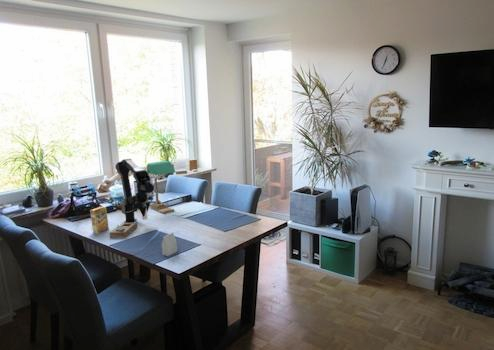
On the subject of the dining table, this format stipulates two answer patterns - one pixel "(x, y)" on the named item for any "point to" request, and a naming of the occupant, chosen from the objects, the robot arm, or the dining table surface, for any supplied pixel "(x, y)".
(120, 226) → the grey metal stub
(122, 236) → the walnut socket block
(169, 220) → the dining table surface
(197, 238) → the dining table surface
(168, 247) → the tea bag
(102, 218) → the candy box
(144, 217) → the cream dowel
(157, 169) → the banker's lamp
